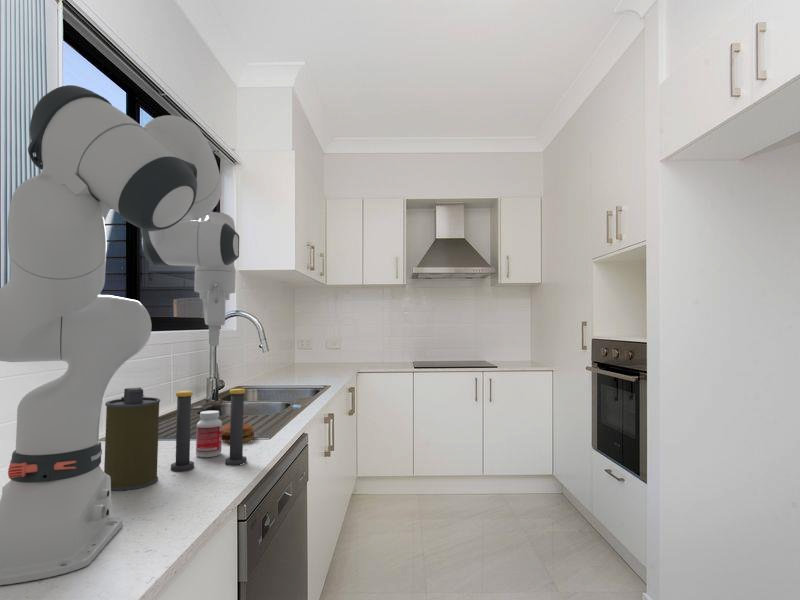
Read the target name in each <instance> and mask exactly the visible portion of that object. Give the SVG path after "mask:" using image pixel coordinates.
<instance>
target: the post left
mask: <svg viewBox="0 0 800 600" xmlns="http://www.w3.org/2000/svg"><path fill="white" fill-rule="evenodd" d="M193 394H194V392H193V391H192V390H183V391H182V390H181V391H176V392H175V396H176V397H177V398H176V399H177V400H176V429H175V431H176V432H175V433H176V434H175V435H176V436H175V437H176V439H175V462H172V463H171V464H170V470H171V471H172V472H185V471H190V470H192V469H194V468H195V462H194V461H192V460H190V458H191V457H190V455H191V453H190V451H191V450H190V449H191V419H192V416H191V415H192V396H193Z"/></svg>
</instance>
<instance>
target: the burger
mask: <svg viewBox="0 0 800 600" xmlns="http://www.w3.org/2000/svg"><path fill="white" fill-rule="evenodd" d="M254 437H255V431H254V427H253V426H252V425H251V424H248V423H243V444H245V443H249V442H251V440H252V441H253V440H254ZM222 441H223V442H224V443H229V444H230V423H228V424H225V425H222Z"/></svg>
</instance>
